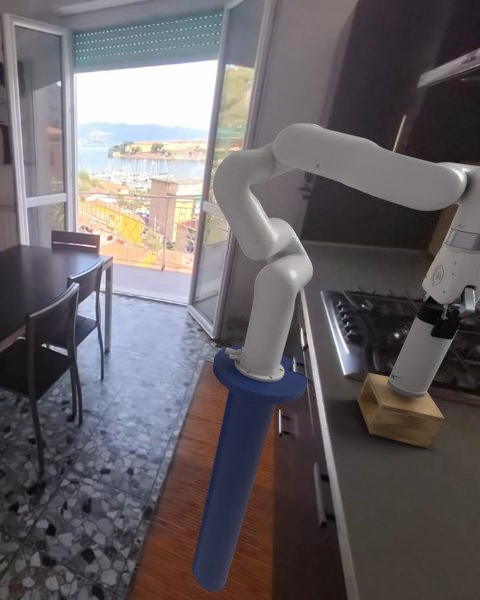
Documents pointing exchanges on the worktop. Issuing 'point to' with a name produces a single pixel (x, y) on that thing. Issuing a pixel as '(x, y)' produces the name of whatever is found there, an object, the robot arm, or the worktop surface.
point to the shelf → (398, 413)
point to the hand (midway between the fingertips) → (433, 328)
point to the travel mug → (419, 354)
